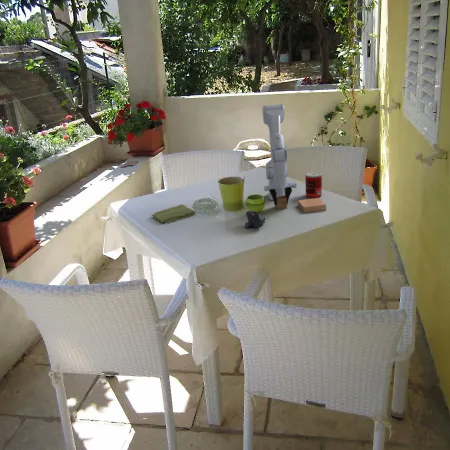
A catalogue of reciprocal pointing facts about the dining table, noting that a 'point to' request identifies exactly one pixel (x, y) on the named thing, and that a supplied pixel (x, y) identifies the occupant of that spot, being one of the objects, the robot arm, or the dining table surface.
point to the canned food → (313, 184)
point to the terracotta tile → (311, 205)
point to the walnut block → (281, 202)
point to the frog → (254, 219)
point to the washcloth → (173, 214)
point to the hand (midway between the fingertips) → (280, 204)
